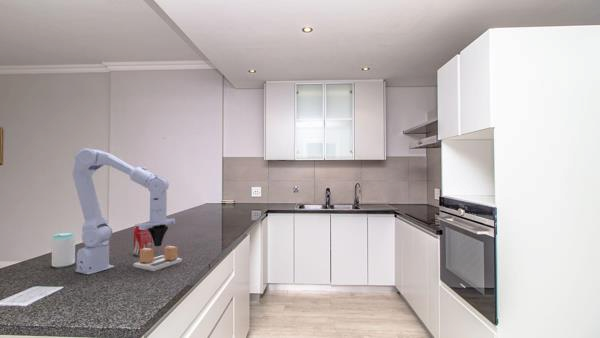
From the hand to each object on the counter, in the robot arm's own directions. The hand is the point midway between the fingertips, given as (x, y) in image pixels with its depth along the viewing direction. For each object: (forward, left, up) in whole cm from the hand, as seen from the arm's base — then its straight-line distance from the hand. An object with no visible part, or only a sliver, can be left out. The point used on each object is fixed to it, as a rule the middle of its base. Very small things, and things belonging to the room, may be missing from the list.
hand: (157, 245), depth 116 cm
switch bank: (+3, +3, -8) cm, 9 cm away
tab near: (+6, 0, -6) cm, 9 cm away
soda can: (+10, +21, -8) cm, 24 cm away
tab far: (0, +5, -6) cm, 8 cm away
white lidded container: (-14, +34, -8) cm, 38 cm away
